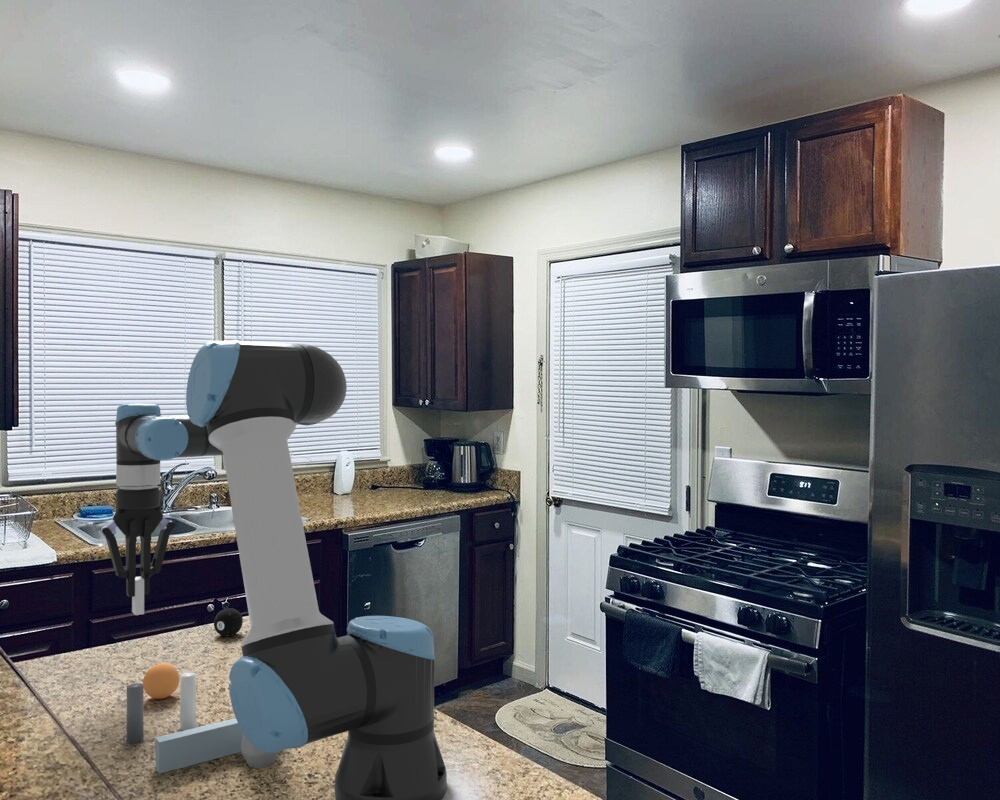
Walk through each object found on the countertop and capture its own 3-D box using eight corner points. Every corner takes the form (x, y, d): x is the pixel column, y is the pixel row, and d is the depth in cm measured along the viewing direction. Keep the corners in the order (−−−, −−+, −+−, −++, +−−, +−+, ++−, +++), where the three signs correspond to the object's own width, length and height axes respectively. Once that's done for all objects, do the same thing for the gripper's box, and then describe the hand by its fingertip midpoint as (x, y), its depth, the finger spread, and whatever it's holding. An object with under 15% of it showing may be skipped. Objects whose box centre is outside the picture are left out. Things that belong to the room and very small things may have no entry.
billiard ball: (247, 632, 182) (247, 606, 182) (232, 640, 176) (232, 613, 176) (224, 630, 184) (224, 604, 184) (208, 638, 178) (208, 611, 178)
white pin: (197, 728, 130) (197, 675, 130) (182, 731, 129) (182, 678, 128) (193, 723, 132) (193, 671, 132) (178, 726, 130) (178, 674, 130)
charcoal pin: (145, 740, 125) (145, 686, 125) (128, 744, 124) (128, 689, 124) (141, 735, 127) (141, 682, 127) (125, 739, 126) (125, 685, 126)
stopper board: (280, 741, 125) (280, 712, 125) (159, 773, 114) (159, 742, 114) (275, 736, 127) (275, 708, 127) (155, 768, 116) (155, 737, 116)
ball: (183, 699, 142) (183, 665, 142) (147, 706, 139) (147, 672, 139) (174, 689, 147) (174, 656, 147) (139, 696, 144) (139, 662, 143)
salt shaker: (269, 772, 115) (269, 681, 115) (233, 768, 116) (233, 679, 116) (288, 754, 120) (288, 668, 120) (253, 751, 122) (253, 665, 121)
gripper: (169, 482, 156) (169, 603, 157) (95, 486, 148) (95, 614, 149) (180, 486, 150) (180, 612, 151) (104, 491, 142) (104, 623, 143)
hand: (138, 612), depth 150 cm, fingers closed
